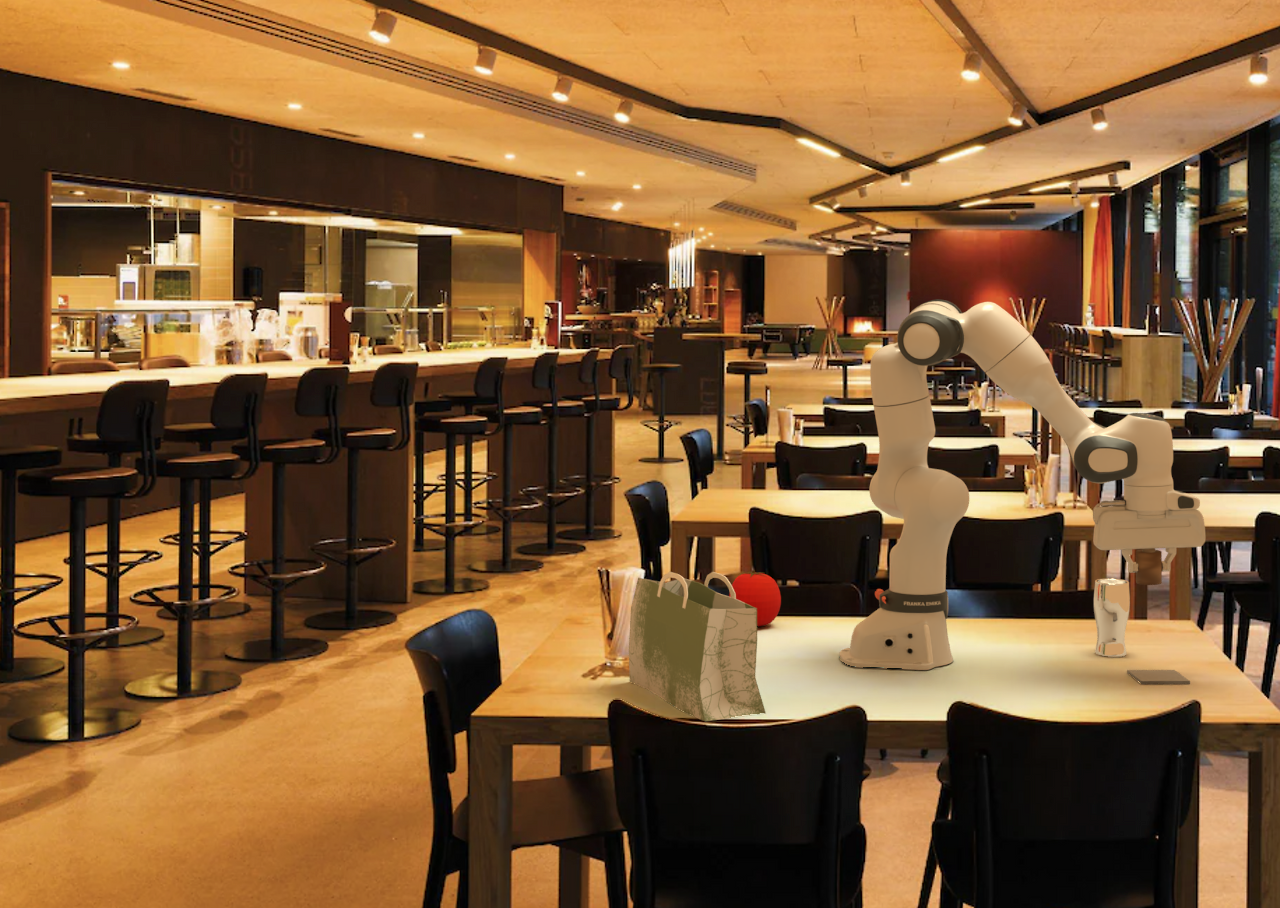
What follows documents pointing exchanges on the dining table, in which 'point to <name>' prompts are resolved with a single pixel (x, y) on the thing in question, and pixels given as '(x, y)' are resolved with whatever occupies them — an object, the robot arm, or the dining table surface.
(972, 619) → the dining table surface
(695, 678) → the grocery bag
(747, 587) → the tomato
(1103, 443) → the robot arm
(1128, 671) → the coaster
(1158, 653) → the dining table surface
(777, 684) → the dining table surface
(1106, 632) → the beer glass
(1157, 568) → the pepper mill
